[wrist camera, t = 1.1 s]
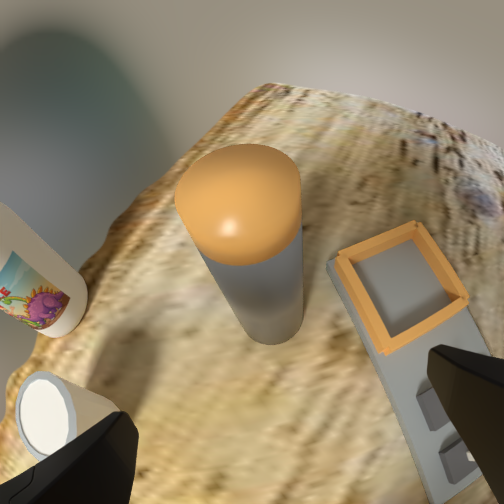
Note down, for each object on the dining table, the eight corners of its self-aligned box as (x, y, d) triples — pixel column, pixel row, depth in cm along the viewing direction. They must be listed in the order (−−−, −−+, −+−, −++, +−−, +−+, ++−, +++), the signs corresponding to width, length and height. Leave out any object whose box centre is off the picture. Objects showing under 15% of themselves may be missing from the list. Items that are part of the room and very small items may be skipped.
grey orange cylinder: (312, 330, 21) (323, 205, 10) (252, 353, 21) (186, 255, 9) (289, 278, 24) (272, 132, 12) (233, 299, 24) (168, 168, 12)
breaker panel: (513, 438, 12) (543, 435, 9) (429, 504, 12) (453, 517, 8) (410, 232, 24) (423, 203, 21) (325, 268, 24) (329, 239, 20)
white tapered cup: (122, 382, 21) (68, 362, 15) (141, 460, 17) (86, 465, 11) (66, 394, 21) (11, 376, 15) (79, 464, 17) (22, 463, 11)
